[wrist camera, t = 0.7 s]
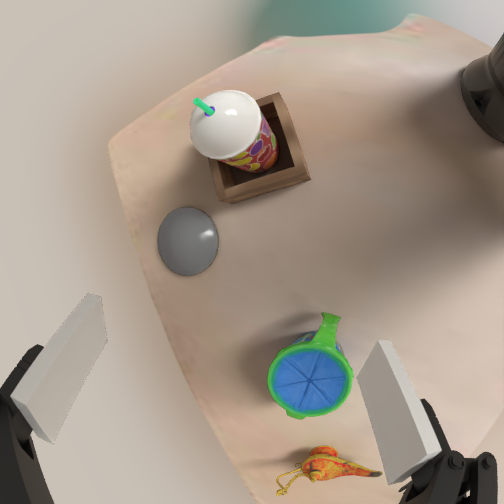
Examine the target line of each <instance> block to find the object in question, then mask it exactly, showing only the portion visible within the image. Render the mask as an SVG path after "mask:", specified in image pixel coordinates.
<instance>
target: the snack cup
mask: <svg viewBox="0 0 504 504" xmlns="http://www.w3.org/2000/svg"><path fill="white" fill-rule="evenodd" d="M321 314H322V315H323V322H322V324H321V326H320V328H319V330H318V331H315V332H309V333H306V334H304V335H302V336H301V337H299V338H298V339H297V340H296V341H295V342H294V343H293V344H292V345H290V346H288V347H286V348H283V349H282V350H280V351H279V352H278V353H277V356H276V357H275V359H274V360H273V362H272V364H271V365H270V367H269V371H268V376H267V386H268V390H269V391H270V393H271V396H272V397H273V399H274V400H275V401H276V402H277V403H278V404H279V405H280V406H281V407H282V408H284V409H285V410H286V413H287V415H288V416H290V417H293V418H296V419H304V418H305V417H306V416H307V417H314V416H321V415H325V414H328V413H330V412H332V411H334V410H336V409H337V408H339V407H340V406H341V405H342V404H343V403H344V401H345V400H346V399H347V397H348V395H349V393H350V391H351V387H352V378H353V370H352V368H351V367H350V365H349V363H348V361H347V359H346V358H345V356H344V354H343V351H342V348H341V346H340V344H339V342H338V341H337V340H336V330H337V323H338V321H339V320H340V319H341V318H340V317H339V316H336V315H332V314H329V313H324V312H322V313H321Z"/></svg>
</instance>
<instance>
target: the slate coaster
mask: <svg viewBox="0 0 504 504" xmlns="http://www.w3.org/2000/svg"><path fill="white" fill-rule="evenodd" d="M218 244H219V239H218V232H217V229H216V226H215V224H214V222H213V221H212V219H211V218H210V217H209V216H208V215H207V214H206V213H204V212H203V211H201V210H199V209H196V208H191V207H182V208H178V209H176V210H174V211H172V212H171V213H170V214H168V215H167V216H166V218H165V219H164V220H163V222H162V224H161V226H160V229H159V232H158V249H159V253H160V256H161V258H162V260H163V262H164V263H165V264H166V266H167V267H168V268H169V269H171V270H172V271H173V272H175V273H177V274H180V275H185V276H190V275H195V274H198V273H201V272H203V271H204V270H206V269H207V268H208V267H209V266H210V265H211V264H212V262H213V261H214V259H215V257H216V254H217V251H218Z"/></svg>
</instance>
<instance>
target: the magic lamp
mask: <svg viewBox="0 0 504 504" xmlns="http://www.w3.org/2000/svg"><path fill="white" fill-rule="evenodd" d="M337 456H338V453H337V451H336V450H335V449H334V448H332V447H330V446H319V447H316V448H314V449H313V450H312V451H311V456H310V457H309V458H307V459H306V460H305V461H304V462H303V464H301V463H297V464H301V465H302V467H301V468H299V469H297V470H294V471H291V472H288V473H286V474H283V475H280V476H279V477H278V478H277V480H276V481H277V483H278V484H279V486H280V487H281V488H282V489H280V490H277V494H276V495H285V494H287V489H288V488H289V487H290V485H291V484H292V482H293V481H294V480H295V479H296V478H297V477H295V478H294V477H293V478H292V479H291V480H290V481H291V482H290V483H291V484H290V483H288V484H289V485H288V484H287V485H286V487H285V489H284V487H283V486H282V485H281V484H280V483H279V481H278V479H279V478H280V477H282V476H284V475H287V474H290V473H294V472H297V471H300V470H302V472H303V473H300V475H299V474H297V475H296V476H298V475H299V476H306V477H308V478H309V479H310V480H311V479H312V480H311V481H312V482H315V481H316V480H329V479H333V478H336V477H340V476H346V475H357V476H364V477H378V476H380V475H382V474H383V473H382V472H380V471H373V470H370V469H367V468H365V467H363V466H360V465H358V464H356V463H353V462H350V461H347V460H344V459H341V458H338V457H337ZM295 467H296V464H295ZM299 476H298V477H299ZM292 480H293V481H292ZM287 486H288V488H287ZM285 490H286V491H285ZM283 492H286V493H285V494H282V493H283Z"/></svg>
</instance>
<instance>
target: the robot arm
mask: <svg viewBox="0 0 504 504" xmlns="http://www.w3.org/2000/svg"><path fill="white" fill-rule="evenodd" d="M461 91H462V95H463V98H464V101H465V103H466V106H467V108H468V110H469V111H470V113H471V115H472V116H473V118H474V119H475V120H476V122H477V123H478V124H479V125H480V126H481V127H482V128H483V129H484V130H485V131H486V132H487V133H488V134H489V135H490V136H492V137H493V138H495V139H497V140H499V141H501V142H503V143H504V34H503V35H502V37H501V38H500V40H499V41H498V43H497V44H496V45H495V47H494V48H493V50H492V51H491V53H490V54H488V55H486V56H484V57H481V58H479V59H477V60H474V61H472V62H471V63H470V64H469V65H468V66H467V68H466V69H465V71H464V72H463V74H462V78H461ZM107 341H108V340H107V334H106V327H105V321H104V314H103V306H102V298H101V296H97V295H93V294H89V293H87V295H86V296H85V297H84V298H83V299H82V300H81V302H80V303H79V304H78V305H77V307H76V308H75V309H74V310H73V311H72V312H71V314H70V315H69V316H68V317H67V319H66V320H65V321H64V322H63V324H62V325H61V326H60V327H59V329H58V330H57V331H56V333H55V334H54V335H53V336H52V338H51V339H50V340H49V342H48V343H47V344H46V346H45V347H43V346H41V345H38V344H37V345H35V346H34V347H32V348H31V349H29V350H28V351H27V352H26V354H25V355H24V356H23V357H22V360H20V361H19V363H18V364H17V367H15V368H14V370H13V371H12V372H11V374H10V375H9V377H8V378H7V379H6V381H5V382H4V384H3V385H2V387H1V388H0V504H54V502H53V499H52V497H51V495H50V492H49V490H48V487H47V484H46V482H45V479H44V477H43V473H42V471H41V468H40V464H39V461H38V458H37V455H36V451H35V448H34V444H33V440H32V438H31V436H30V434H31V432H32V430H34V432H35V433H36V435H37V436H38V437H40V438H41V439H43V440H45V441H47V442H49V443H51V444H54V442H55V440H56V437H57V435H58V433H59V431H60V429H61V427H62V425H63V423H64V421H65V419H66V417H67V415H68V413H69V411H70V409H71V407H72V405H73V403H74V401H75V399H76V397H77V395H78V393H79V391H80V389H81V387H82V385H83V384H84V382H85V380H86V378H87V376H88V374H89V373H90V371H91V369H92V367H93V365H94V364H95V362H96V360H97V358H98V357H99V355H100V353H101V351H102V350H103V348H104V346H105V344H106V343H107ZM357 380H358V383H359V386H360V389H361V392H362V395H363V399H364V402H365V405H366V408H367V411H368V415H369V418H370V421H371V424H372V428H373V431H374V434H375V438H376V441H377V445H378V448H379V452H380V456H381V459H382V463H383V467H384V470H385V474H386V478H387V482H388V485H390V484H395V483H399V482H403V481H404V480H406V479H407V478H408V477H410V476H411V478H412V481H410V482H409V483H408V484H406V485H405V486H403V487H402V488H401V489H400V490H399V492H401V491H403V490H404V489H406V490H405V492H404V493H403V497H402V499H401V501H400V503H399V504H497V495H498V494H497V491H498V485H497V484H498V483H497V463H496V459H495V457H494V456H493V455H492V454H491V453H489V452H483V453H482V454H480V455H479V456H478V457H477V458H464V457H463V455H462V454H461V453H459V452H458V451H454V450H453V451H452V450H451V449H450V447H449V444H448V442H447V440H446V437H445V435H444V433H443V430H442V428H441V426H440V424H439V421H438V419H437V417H435V416H436V415H435V413H434V410H433V408H432V406H431V405H430V404H429V403H428V402H427V401H426V400H425V399H419V396H418V394H417V392H416V390H415V388H414V386H413V384H412V382H411V380H410V378H409V375H408V373H407V371H406V369H405V367H404V365H403V363H402V361H401V360H400V358H399V356H398V354H397V352H396V350H395V348H394V346H393V344H392V342H391V340H377V342H376V344H375V346H374V348H373V350H372V352H371V354H370V355H369V357H368V359H367V361H366V363H365V364H364V366H363V368H362V370H361V371H360V373H359V375H358V376H357ZM469 490H470V496H468V497H467V496H466V492H468V491H469Z"/></svg>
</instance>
